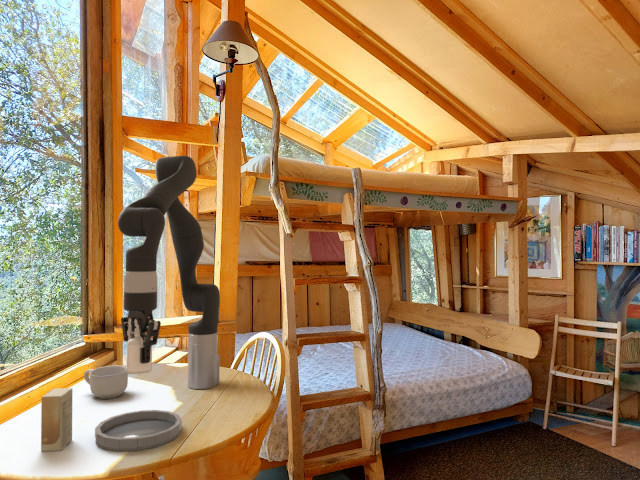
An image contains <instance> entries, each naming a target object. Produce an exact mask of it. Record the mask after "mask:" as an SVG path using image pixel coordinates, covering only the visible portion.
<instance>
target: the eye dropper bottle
mask: <svg viewBox="0 0 640 480" xmlns="http://www.w3.org/2000/svg"><path fill="white" fill-rule="evenodd" d="M142 334H146V333H142ZM134 336H135V338H132V339H130V340H129V341H128V342H127V341H126V342H127V344H126V367H127V373H128V375H140V374H148V373H151V372H152V370H153V369H152V368H153V345H152V346H151V350H150V362H149V363H145V364H142V363H140V348H141V346H140V339H139V338H138V337H137V330H136V328H135V334H134ZM145 339H146V337H144V341H145Z"/></svg>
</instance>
